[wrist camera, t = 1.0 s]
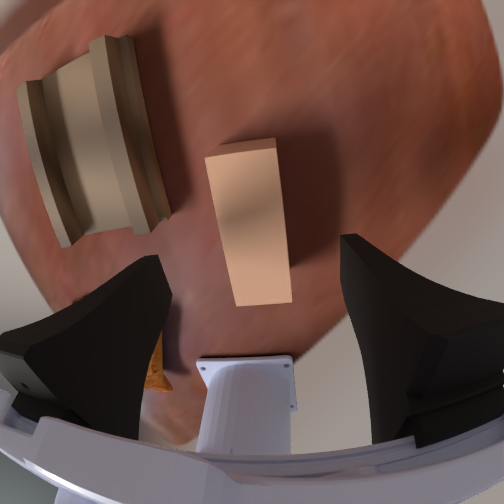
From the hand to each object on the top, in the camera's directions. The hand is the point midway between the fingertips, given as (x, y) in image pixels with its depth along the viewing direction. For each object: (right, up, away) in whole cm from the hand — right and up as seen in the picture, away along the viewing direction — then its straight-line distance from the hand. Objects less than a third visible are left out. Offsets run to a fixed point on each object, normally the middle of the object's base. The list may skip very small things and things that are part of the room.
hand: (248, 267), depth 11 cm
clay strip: (0, +3, +5) cm, 6 cm away
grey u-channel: (-9, +7, +3) cm, 12 cm away
